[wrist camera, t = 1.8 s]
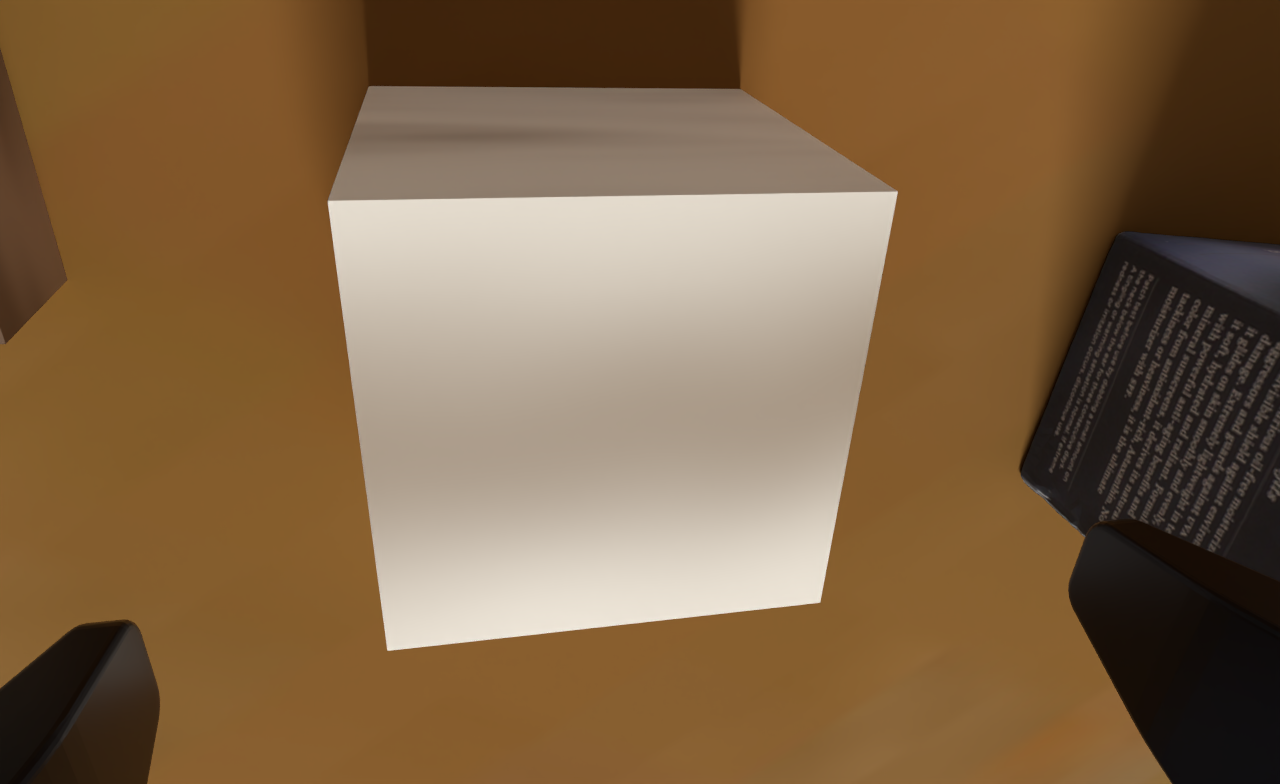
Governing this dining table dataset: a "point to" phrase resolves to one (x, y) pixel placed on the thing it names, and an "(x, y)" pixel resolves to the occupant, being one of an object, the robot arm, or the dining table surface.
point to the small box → (1173, 398)
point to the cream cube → (599, 352)
